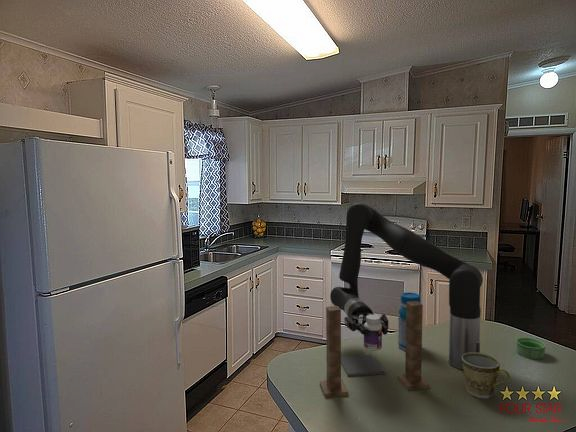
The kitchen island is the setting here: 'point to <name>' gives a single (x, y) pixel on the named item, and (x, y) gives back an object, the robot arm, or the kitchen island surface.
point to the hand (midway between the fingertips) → (376, 332)
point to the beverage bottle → (402, 317)
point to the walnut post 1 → (333, 355)
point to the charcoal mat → (361, 365)
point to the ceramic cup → (481, 374)
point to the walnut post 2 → (413, 348)
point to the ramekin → (530, 348)
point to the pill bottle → (373, 333)
